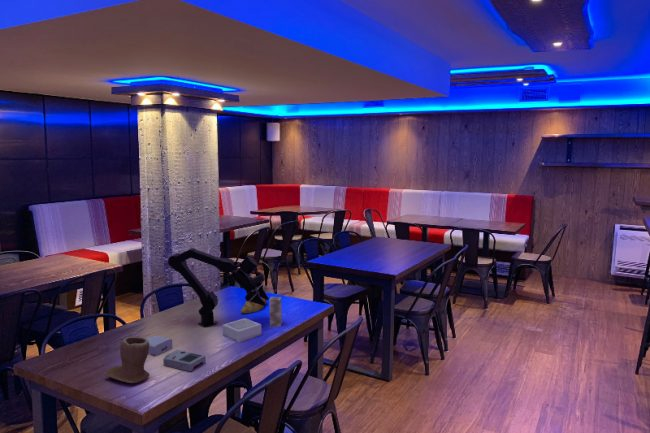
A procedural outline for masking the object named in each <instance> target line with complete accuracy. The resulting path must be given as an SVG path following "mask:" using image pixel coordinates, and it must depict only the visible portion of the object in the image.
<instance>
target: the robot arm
mask: <svg viewBox="0 0 650 433" xmlns="http://www.w3.org/2000/svg"><path fill="white" fill-rule="evenodd" d="M189 259H194V260H197V261H200V262H202V263H205V264H208V265H209V266H210V265H211V266H213V267H215V268H216V269H217V270H219V271H220V272H222V273H224V274H227V281H228V282H230V281H231V280H234V282H236V283H237V285H239V288H240V289H243V290H244V291H245V292H246V294H245V296H244V299H245V302H246V301H248V302H253V303H256V304H259V305H262V306H264V307H265V306H267V303H265V302H264V301H263V300H262V298H264V299H266V300H267V301H269V300H270V298H269V296H268V294H267V293H266V291H265V289H264V282H265V280H266V277H265V273H263V272H261V271H258V272H256V275H255V276H254V277H252V276H251V275H250V276H248V274H251V273H252V272H253V271H254V270H255V269H256V268H257V266H259V264H258V262H257V260H255V259H254V258H252V257H251V256H249V255H246V256H245V257H244V259H243V260H242V261H235V260H234V259H232V258H227V257H226V258H225V257H218V256H215V255H213V254H209V253H207V252H204V251H201V250H198V249H196V248H193V247H191V248H189V249H188V250H185V251H183V252H181V253H179V252H176V253H174V254H173V255H171V256H169V258H168V259H167V265H169V267H171V268H172V270H174V271H176V272H177V273H179V274H180V276H182V278H183V279H184V280H185V281H186V282H187V284H188V285H189V286H190V287H191V288H192V290H193V291H194V292H195V294H196V295H197V296H198V298H199V301H200V304H201V307H200V308H199V310H198V313H199V315H200V322H198V323H197V324H198V325H200V326H201V327H204V328H208V327H211V326H214V325H217V322H216V321H215V317H214V316H215V315H214V310H215V309H216V307H217V305H218V304H219V299H218V297H219V296H218V295H216V294H215V292H214V290H211V291H209V290H208V289H206V288H205V287H204V285H203V284H202V283H201V281H200V280H199V279H198V278H197V277H196V275H195V274H194V273H193V272H192V270H191V269H190V268H189V266H188V263H187V260H189Z"/></svg>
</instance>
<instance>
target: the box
mask: <svg viewBox="0 0 650 433" xmlns="http://www.w3.org/2000/svg"><path fill="white" fill-rule="evenodd" d="M259 336H262V324H261V323H259V322H255V321H253V320H251V319H248V318H245V317H244V318H241V319H238V320H234V321H231V322H227V323H224V324H222V337H225V338H228V339H230V340H231V341H235V342H236V343H242V342H245V341H249V340H250V339H254V338H257V337H259Z"/></svg>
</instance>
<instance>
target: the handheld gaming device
mask: <svg viewBox="0 0 650 433" xmlns="http://www.w3.org/2000/svg"><path fill="white" fill-rule="evenodd" d="M162 360H163V362H162V363H163V365H164V366H166V367H170V368H174V369H179V370H182V371H186V372H191V371H193V370H194V367H196V366H197V365H199V364H201V365H203V364H206V355H204V354H199V353H195V352H190V351H185V350H180V349H175V350H173V351H172V352H170V353H168V354H166V355H165V356H164V357H163V359H162Z"/></svg>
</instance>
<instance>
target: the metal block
mask: <svg viewBox="0 0 650 433" xmlns="http://www.w3.org/2000/svg"><path fill="white" fill-rule="evenodd" d="M268 301H269V327H271V328H272V327H275V328H276V327H279V328H280V327H281V326H282V324H283V318H282V317H283V316H282V312H283V311H282V296H270V298H269V300H268Z"/></svg>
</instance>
